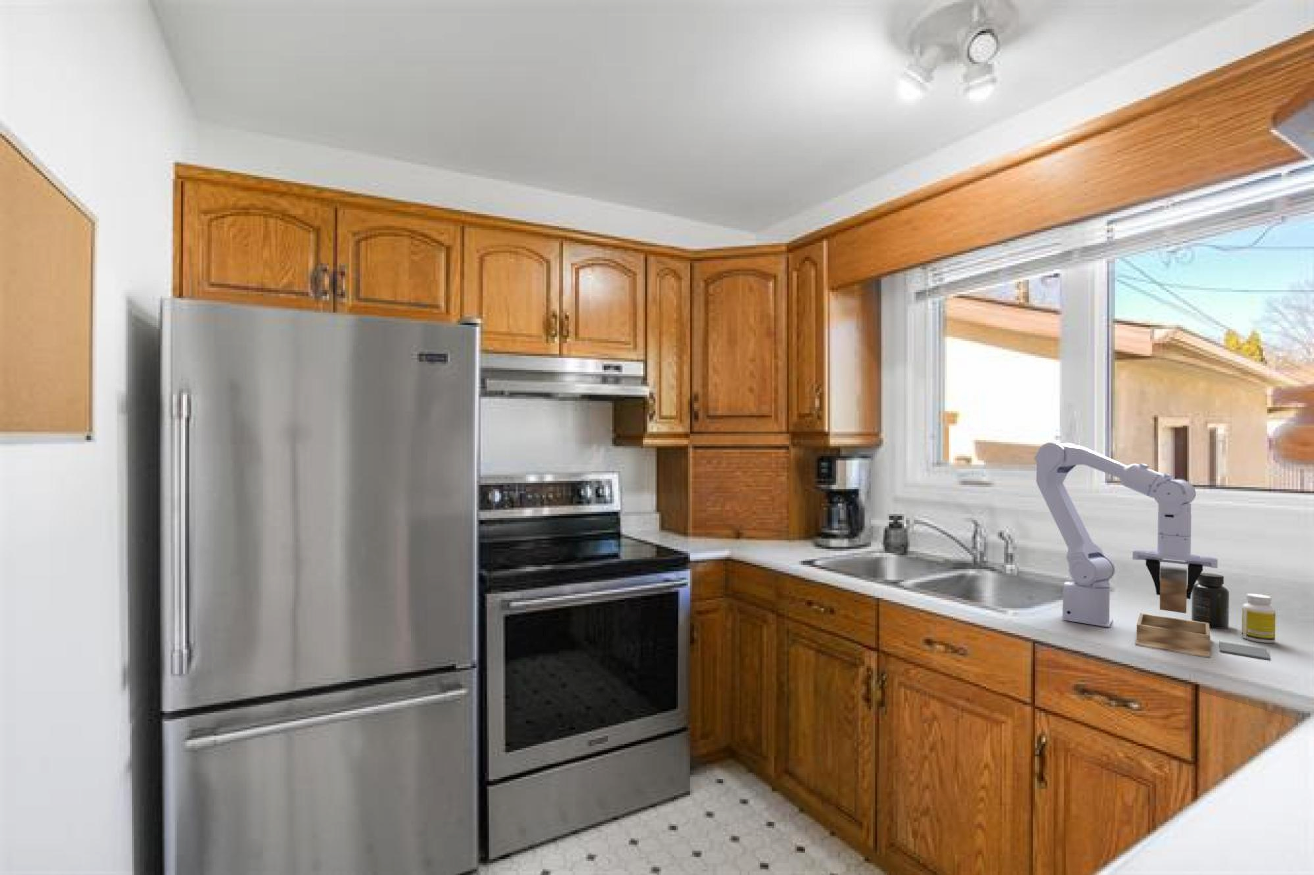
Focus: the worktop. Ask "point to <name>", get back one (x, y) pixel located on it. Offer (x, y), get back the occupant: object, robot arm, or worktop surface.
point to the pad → (1244, 650)
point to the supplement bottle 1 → (1210, 601)
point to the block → (1173, 589)
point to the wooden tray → (1173, 635)
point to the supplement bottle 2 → (1258, 619)
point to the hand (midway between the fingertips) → (1173, 596)
